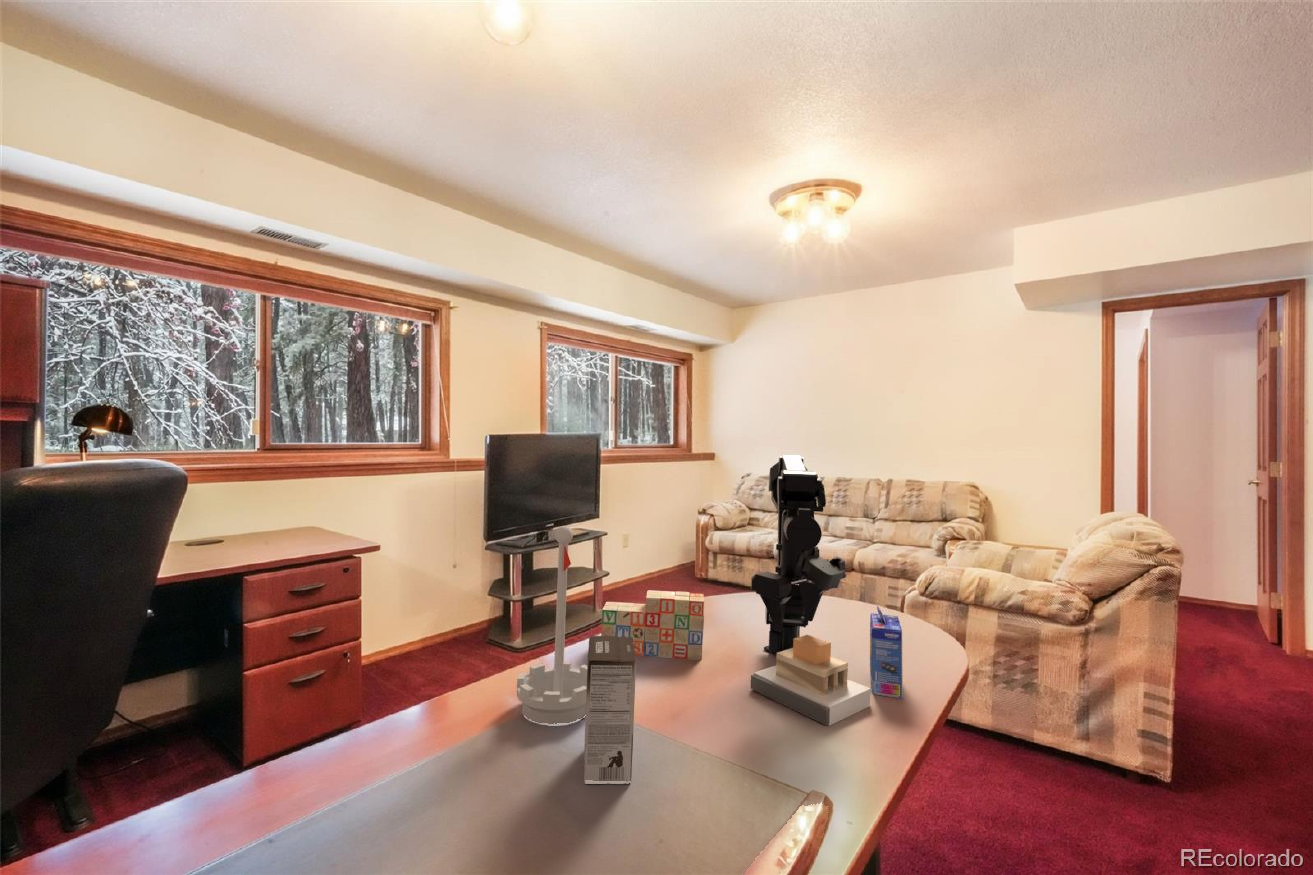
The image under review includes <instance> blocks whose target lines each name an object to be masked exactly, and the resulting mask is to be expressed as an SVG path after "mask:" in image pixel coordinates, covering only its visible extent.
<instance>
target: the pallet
mask: <svg viewBox="0 0 1313 875" xmlns="http://www.w3.org/2000/svg"><path fill="white" fill-rule="evenodd" d="M775 662H776V675H777V676H779V677H781V678H784V679H786V680H788V681H791V682H793V683H795V684H797V685H800V686H802V687H804V688H806V689H809V690H811V691H813V692H816V693H818V694H820V695H822V696H824V695H826V694H827V692H828V689H829V690H831V691H836V690H838V685H839V686H841V687H845V686H847V679H848V675H849V673H848V672H849V671H848V670H849V669H848V668H849V663H848V662H847V661H845V660H841V659H840V658H836V657H834V656H831V657H830V660H829V661H826V662H823V663H820V664H817V665H816V664H813V663H811V662H808V661H806V660H803V659H801V658H798V657H796V656H793V648H791V649H787V650H784V651H781V652H778V653H777V655H776V661H775Z"/></svg>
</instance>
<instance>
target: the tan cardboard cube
mask: <svg viewBox="0 0 1313 875" xmlns="http://www.w3.org/2000/svg"><path fill="white" fill-rule="evenodd" d="M831 648H832V642H829V641H827V640H824V639H821V638H819V637H815V636H813V635H810V634H804V635H800V637H798V638H794V642H793V656H796V657H798V658H801V659H803V660H806V661H808V662H811V663H813V664H816V665H817V664H820V663H823V662H826V661H829V660H830V657H832V654H831V650H832V649H831Z"/></svg>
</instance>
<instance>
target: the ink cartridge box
mask: <svg viewBox="0 0 1313 875" xmlns="http://www.w3.org/2000/svg"><path fill="white" fill-rule="evenodd" d="M876 610H877V612H878V613H875V612H874V613H872V612H871V613H870V616H869V618H870V619H869V620H870V623H869V624H870V625H869V673H870V674H869V676H870V688H871V694H873V695H877V696H878V695H879V696H882V697H888V696H889V697H890V698H894V697H895V698H896V699H900V698H901V699H903V697H904V696H903V692H904V691H903V689H904V688H903V687H904V686H903V685H904V682H903V629H902V626H901V622H900V619H899V616H897V615H889V614H884V613H883V612H882V610H881V609H880V607H879V606H878V605H877V606H876Z"/></svg>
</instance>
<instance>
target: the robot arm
mask: <svg viewBox="0 0 1313 875" xmlns="http://www.w3.org/2000/svg"><path fill="white" fill-rule="evenodd" d="M768 492H771V494H770V495H771V502H772V503H773V506H774V507H775V508H776V511H777V544H775V550H776V551H777V554H776V555H777V558H776V560H777V561H776V566H775V571H774V572H775V573H774V572H772V571H771V572H770V571H765V572H759V573H755V574H754V575H753V576H751V578H750V581H751V582H750V584H751V585H750V589H751V590H752V591H754V592H755V594H757V595H759V596H760V598H761V600H762V602H763V604H764V606H765V609H764V610H765V618H764V619H765V624H766V625H769V631H768V645H765V646H763V650H764V651H766V652H770V653H772V654H774V655H775V656H777V653H778V652H781V651H784V650H787V649H791V648H793V642H794V638H798V637H801V635H800V634H801V633H800V631H801V630H800V629H801V628H802V627H803V628H807V626H809V622H813V620H814V617H815V614H816V612H817V609H818V607H819V604H820V601H821V599H822V596H823V594H824V593H826V592H827V591H830V590H831V589H837V588H839V585H840V582H841V580H844V579H845V578H847V574H846V571H847V570H846V561H845V560H844V559H842V558H841V557H833V558H831V559H829V558H825V559H824V558H823V557H821V555H820V549H819V546H818V545H819V543H820V542H821V540H822V536H823V535H822V534H823V533H822V532H823V531H822V529H821V526H820V524H819V522H818V521H817V520H816V519H815V512H817V513H823V512H824V508H825V507H826V505H827V500H826V490H825V484H824V483H823V480H822V479H821V478H819V476H818V473H817V472H816V471H814V470H813V471H812V470H808V468H807V467H806V465H805V464H804V457H803V456H800V455H792V454H791V455H789V454H788V455H787V454H785V455H782V456H781V455H780V456H779V458H778V462H776V463H775V464H774V465H772V466H771V467H770V468H769V474H768ZM751 590H750V591H751Z"/></svg>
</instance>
